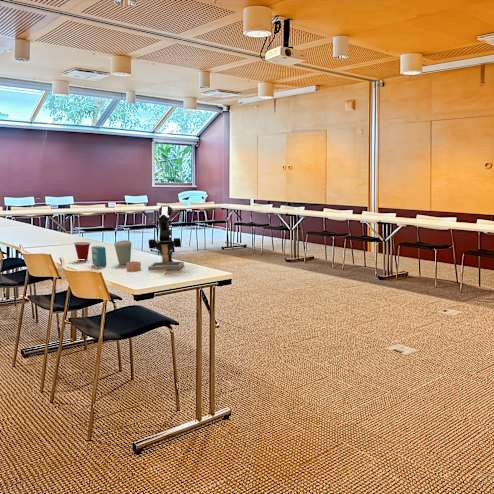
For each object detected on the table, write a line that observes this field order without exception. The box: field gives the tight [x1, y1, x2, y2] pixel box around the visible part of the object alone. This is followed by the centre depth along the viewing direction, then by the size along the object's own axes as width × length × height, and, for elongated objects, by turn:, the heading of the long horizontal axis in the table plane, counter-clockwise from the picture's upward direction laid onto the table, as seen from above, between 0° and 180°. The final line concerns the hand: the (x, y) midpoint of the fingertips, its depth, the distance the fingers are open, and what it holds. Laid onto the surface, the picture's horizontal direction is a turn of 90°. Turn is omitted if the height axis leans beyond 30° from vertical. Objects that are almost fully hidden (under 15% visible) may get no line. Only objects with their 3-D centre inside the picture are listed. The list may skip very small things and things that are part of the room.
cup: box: [125, 260, 142, 272], centre depth 317 cm, size 8×8×5 cm
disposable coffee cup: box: [114, 240, 132, 266], centre depth 339 cm, size 11×11×15 cm
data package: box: [91, 245, 107, 267], centre depth 341 cm, size 12×4×12 cm, turn 37°
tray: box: [147, 261, 185, 272], centre depth 322 cm, size 16×18×2 cm
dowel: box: [161, 245, 169, 264], centre depth 319 cm, size 4×4×11 cm
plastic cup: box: [73, 241, 91, 260], centre depth 367 cm, size 11×11×12 cm
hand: (164, 254), depth 318 cm, fingers closed on dowel, 4 cm apart
